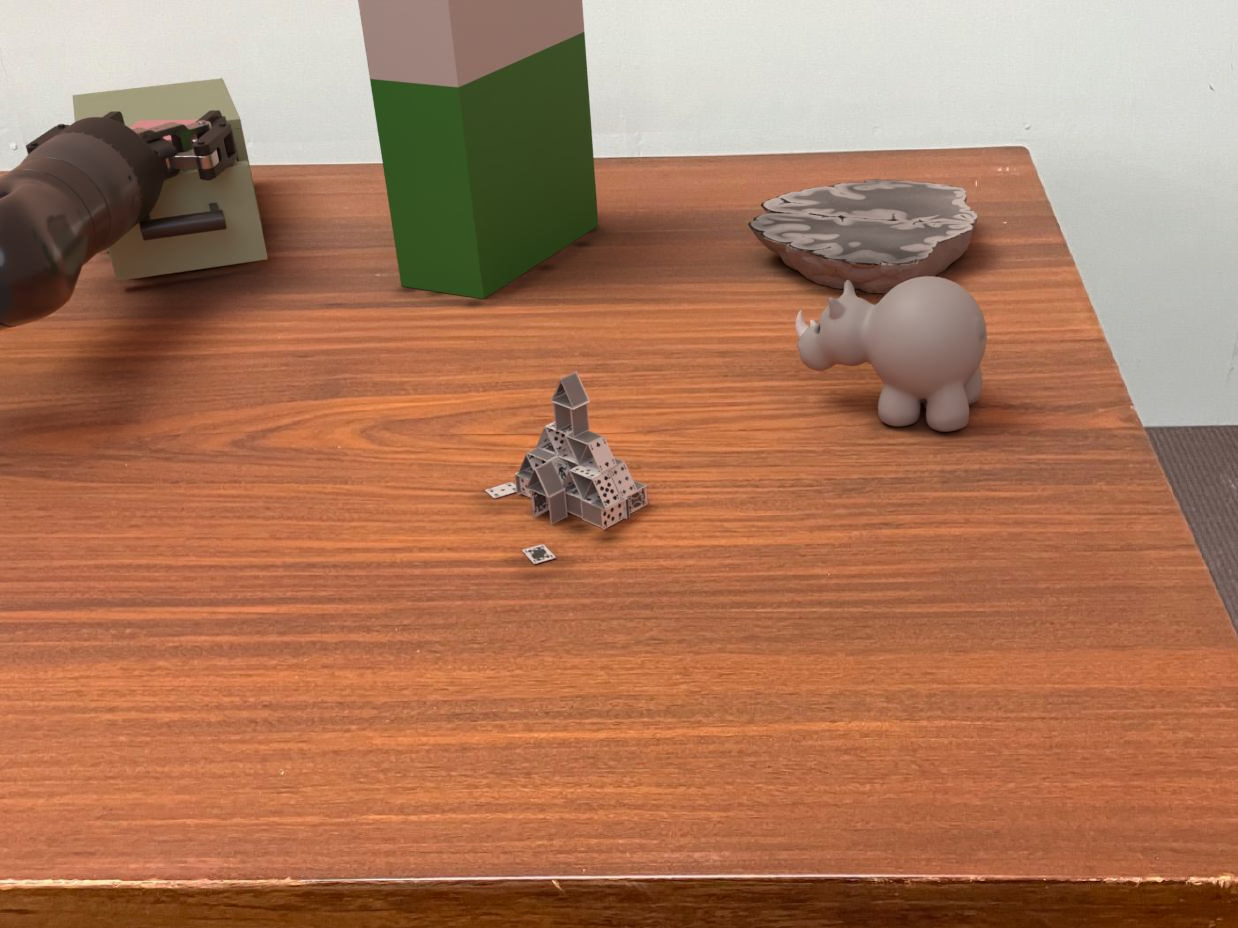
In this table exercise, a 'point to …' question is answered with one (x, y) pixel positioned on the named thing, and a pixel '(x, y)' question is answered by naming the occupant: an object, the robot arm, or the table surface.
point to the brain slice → (868, 231)
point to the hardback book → (481, 135)
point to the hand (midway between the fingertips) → (169, 124)
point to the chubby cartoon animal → (906, 348)
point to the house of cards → (574, 470)
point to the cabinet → (166, 106)
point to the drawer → (194, 227)
